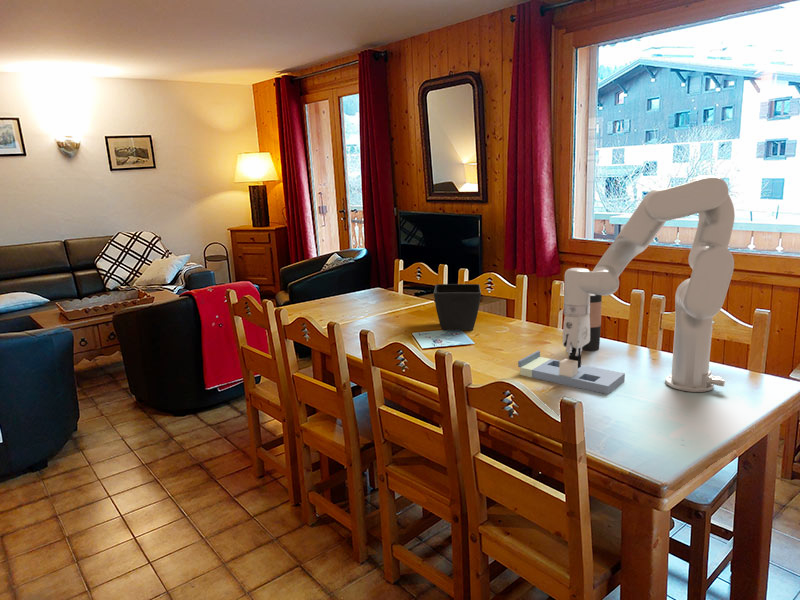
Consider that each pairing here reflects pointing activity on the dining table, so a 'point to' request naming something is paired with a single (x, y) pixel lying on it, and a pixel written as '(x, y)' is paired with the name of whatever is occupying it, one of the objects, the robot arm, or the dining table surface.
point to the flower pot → (457, 305)
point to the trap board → (584, 379)
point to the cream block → (568, 367)
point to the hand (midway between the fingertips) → (574, 367)
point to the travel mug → (594, 323)
